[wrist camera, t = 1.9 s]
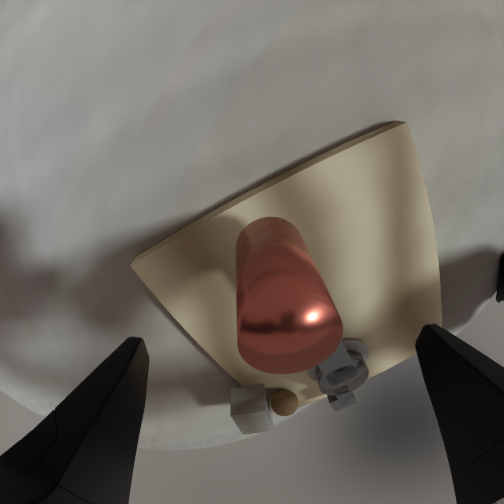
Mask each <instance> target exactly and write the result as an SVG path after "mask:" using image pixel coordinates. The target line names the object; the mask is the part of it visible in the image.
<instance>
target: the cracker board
mask: <svg viewBox="0 0 504 504" xmlns="http://www.w3.org/2000/svg"><path fill="white" fill-rule="evenodd" d="M264 217H279V218H282V219H285V220H287V221H289V222H291V223H292V224H293V225H294V226H295V227H296V228H297V229H298V230H299V232H300V234H301V236H302V238H303V240H304V242H305V244H306V246H307V248H308V250H309V252H310V254H311V256H312V258H313V260H314V262H315V264H316V266H317V268H318V270H319V272H320V275H321V277H322V279H323V281H324V283H325V285H326V287H327V289H328V292H329V294H330V296H331V298H332V300H333V302H334V305H335V307H336V309H337V311H338V313H339V316H340V318H341V320H342V323H343V335H342V340H343V342H344V344H345V346H346V348H347V350H355V351H358V352H359V353H361V354H362V356H363V358H364V361H365V363H366V365H367V368H368V370H369V375H368V378H370V377H372V376H375V375H376V374H379V373H381V372H382V371H385V370H387V369H388V368H390V367H392V366H394V365H396V364H398V363H400V362H402V361H404V360H405V359H407V358H409V357H411V356H413V355H414V354H416V353H417V352H416V348H415V342H416V340H417V338H418V336H419V334H420V332H421V330H422V328H423V326H424V325H426V324H430V323H435V324H437V325H439V326H440V327H442V300H441V284H440V272H439V262H438V253H437V246H436V239H435V232H434V226H433V220H432V215H431V209H430V204H429V200H428V195H427V191H426V186H425V182H424V178H423V174H422V170H421V166H420V163H419V159H418V156H417V152H416V149H415V145H414V142H413V139H412V136H411V133H410V130H409V127H408V124H407V122H402V121H394V122H392V123H389V124H387V125H385V126H382V127H380V128H378V129H375V130H373V131H371V132H369V133H366V134H364V135H362V136H360V137H358V138H355V139H353V140H351V141H349V142H347V143H344V144H342V145H340V146H338V147H336V148H334V149H332V150H330V151H327V152H325V153H323V154H321V155H319V156H317V157H315V158H313V159H311V160H309V161H307V162H305V163H303V164H301V165H299V166H297V167H295V168H293V169H291V170H289V171H287V172H285V173H283V174H281V175H279V176H277V177H275V178H273V179H271V180H269V181H267V182H265V183H263V184H261V185H260V186H258V187H256V188H254V189H252V190H250V191H248V192H246V193H245V194H243V195H241V196H239V197H237V198H235V199H233V200H232V201H230V202H228V203H226V204H224V205H222V206H221V207H219V208H217V209H215V210H214V211H212V212H210V213H208V214H206V215H205V216H203V217H201V218H199V219H198V220H196V221H194V222H192V223H191V224H189V225H187V226H185V227H184V228H182V229H180V230H179V231H177V232H175V233H174V234H172V235H170V236H169V237H167V238H165V239H163V240H162V241H160V242H159V243H157V244H155V245H154V246H152V247H150V248H149V249H147V250H145V251H144V252H142V253H141V254H139V255H137V256H136V257H135V259H134V260H133V262H132V264H131V268H132V269H133V270H134V271H135V273H136V274H137V275H138V276H139V277H140V279H141V280H142V281H143V282H144V283H145V285H146V286H147V287H148V288H149V289H150V291H151V292H152V293H153V294H154V295H155V296H156V298H157V299H158V300H159V301H160V302H161V303H162V305H163V306H164V307H165V308H166V309H167V310H168V311H169V312H170V314H171V315H172V316H173V317H174V318H175V319H176V320H177V321H178V322H179V323H180V325H181V326H182V327H183V328H184V329H185V330H186V331H187V332H188V333H189V334H190V335H191V336H192V337H193V338H194V339H195V341H196V342H197V343H198V344H199V345H200V346H201V347H202V348H203V349H204V350H205V351H206V352H207V353H208V354H209V355H210V356H211V357H212V358H213V359H214V360H215V361H216V362H217V363H218V364H219V365H220V366H221V367H222V368H223V369H224V370H225V371H226V372H227V373H229V374H230V375H231V376H232V377H233V378H234V379H235V380H236V381H237V382H238V383H239V384H240V385H241V386H242V387H235V388H230V404H231V417H232V418H233V420H234V422H235V423H236V425H237V426H238V428H239V429H240V431H241V432H242V434H251V433H259V432H265V431H272V430H274V425H273V417H272V413H273V414H274V415H276V414H277V415H280V416H288V415H291V414H292V413H294V412H295V411H296V409H297V408H298V407H300V406H303V405H306V404H309V403H311V402H314V401H317V400H319V399H322V398H325V397H327V395H326V394H323V393H322V392H321V391H320V389H319V385H318V381H317V377H316V374H315V371H316V368H317V366H318V365H316V366H314V367H312V368H310V369H307V370H304V371H301V372H297V373H291V374H271V373H266V372H262V371H260V370H257V369H255V368H253V367H251V366H250V365H248V364H247V363H246V362H245V361H244V360H243V358H242V357H241V355H240V354H239V351H238V346H237V312H236V242H237V239H238V236H239V234H240V233H241V231H242V230H243V229H244V228H245V227H246V226H247V225H248V224H249V223H251V222H253V221H255V220H257V219H260V218H264ZM368 378H367V379H368Z"/></svg>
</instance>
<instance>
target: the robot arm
mask: <svg viewBox="0 0 504 504" xmlns="http://www.w3.org/2000/svg"><path fill="white" fill-rule="evenodd" d="M502 300H503V301H504V255H503V256H502V257H501V259H500V267H499V278H498V287H497V295H496V301H497V302H501V301H502ZM415 348H416V352H417V355H418V359H419V363H420V366H421V370H422V374H423V378H424V381H425V385H426V388H427V391H428V394H429V397H430V400H431V403H432V406H433V409H434V412H435V415H436V418H437V421H438V425H439V428H440V432H441V435H442V439H443V442H444V446H445V449H446V453H447V458H448V462H449V466H450V470H451V475H452V480H453V485H454V491H455V496H456V501H457V504H493V503H494V504H504V367H502V366H501V365H499V364H498V363H496V362H495V361H493V360H492V359H490V358H489V357H487V356H486V355H484V354H483V353H481V352H480V351H478V350H476V349H475V348H473V347H472V346H470V345H469V344H467V343H466V342H464V341H462V340H461V339H459V338H458V337H456V336H455V335H453V334H451V333H450V332H448V331H447V330H445V329H443V328H442V327H440V326H439V325H437V324H435V323H430V324H426V325H424V326H423V328H422V330H421V332H420V334H419V336H418V338H417V340H416V342H415ZM148 370H149V355H148V352H147V349H146V346H145V343H144V340H143V339H142V338H140V337H129V338H127V339H126V340H125V341H124V342H123V343H122V344H121V345H120V346H119V347H118V348H117V349H116V350H115V351H114V352H113V353H111V354H110V355H109V356H108V357H107V358H106V359H105V360H104V361H103V362H102V363H101V364H100V365H99V366H98V367H97V368H96V369H95V370H94V371H93V372H92V373H91V374H90V375H89V376H87V377H86V378H85V379H84V380H83V381H82V382H81V383H80V384H79V385H78V386H77V387H76V388H75V389H74V390H73V391H72V392H71V393H70V394H69V395H68V396H67V397H66V398H65V399H64V400H63V401H62V402H61V403H60V404H59V405H58V406H57V407H56V408H55V410H53V411H52V412H51V413H50V414H49V415H48V416H47V417H46V418H45V419H44V420H43V421H41V422H40V423H39V424H38V425H37V426H36V427H35V428H34V429H33V430H32V431H30V432H29V433H28V434H27V435H26V436H24V437H23V438H22V439H21V440H19V441H18V442H17V443H16V444H15V445H13V446H12V447H11V448H10V449H8V450H7V451H6V452H4V453H3V454H2V455H1V456H0V504H128V502H129V494H130V488H131V481H132V474H133V468H134V461H135V456H136V450H137V444H138V439H139V434H140V428H141V423H142V418H143V413H144V408H145V400H146V389H147V379H148Z"/></svg>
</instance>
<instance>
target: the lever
mask: <svg viewBox="0 0 504 504" xmlns="http://www.w3.org/2000/svg"><path fill="white" fill-rule="evenodd" d="M236 312H237V346H238V351H239V354H240V355H241V357H242V358H243V360H244V361H245V362H246V363H247V364H248V365H250V366H251V367H253V368H255V369H257V370H260V371H262V372H266V373H271V374H291V373H297V372H301V371H304V370H307V369H310V368H312V367H314V366H316V365H318V366H317V368H316V371H315V374H316V377H317V381H318V385H319V389H320V391H321V392H322V393H323V394H326V395H327V396H328V399H329V403H330V405H331V406H332V407H333V409H334V410H335V411H338V410H340V409H343V408H345V407H347V406H350V405H352V404H354V403H356V400H355V397H354V394H353V390H354V389H356V388H358V387H359V386H361V385H362V384H363V383H364V382H365V381H366V379H367V378H368V375H369V370H368V368H367V365H366V363H365V361H364V358H363V356H362V354H361V353H359V352H358V351H355V350H347V348H346V346H345V344H344V342H343V340H342V335H343V323H342V320H341V318H340V316H339V313H338V311H337V309H336V307H335V305H334V302H333V300H332V298H331V296H330V294H329V292H328V289H327V287H326V285H325V283H324V281H323V279H322V277H321V275H320V272H319V270H318V268H317V266H316V264H315V262H314V260H313V258H312V256H311V254H310V252H309V250H308V248H307V246H306V244H305V242H304V240H303V238H302V236H301V234H300V232H299V230H298V229H297V228H296V227H295V226H294V225H293V224H292V223H291V222H289V221H287V220H285V219H282V218H279V217H264V218H260V219H257V220H255V221H253V222H251V223H249V224H248V225H247V226H246V227H245V228H244V229H243V230H242V231H241V233H240V234H239V236H238V239H237V242H236Z"/></svg>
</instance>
